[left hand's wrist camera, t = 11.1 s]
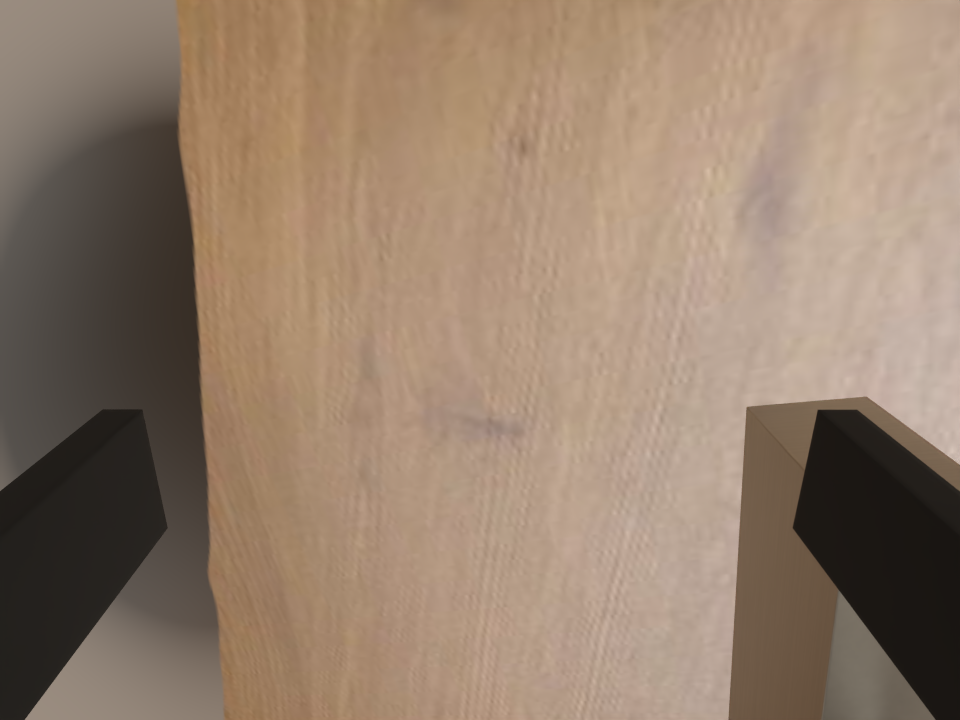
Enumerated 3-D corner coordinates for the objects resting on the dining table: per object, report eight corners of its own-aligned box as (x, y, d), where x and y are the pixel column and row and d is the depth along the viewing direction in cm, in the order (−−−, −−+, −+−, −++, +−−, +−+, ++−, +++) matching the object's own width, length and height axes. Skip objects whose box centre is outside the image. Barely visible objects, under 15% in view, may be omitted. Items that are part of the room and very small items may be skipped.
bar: (746, 406, 30) (847, 519, 22) (867, 396, 30) (1016, 505, 21) (723, 796, 40) (788, 979, 31) (815, 790, 39) (904, 973, 31)
